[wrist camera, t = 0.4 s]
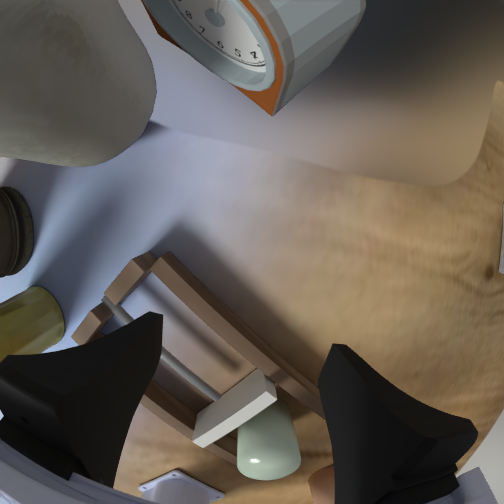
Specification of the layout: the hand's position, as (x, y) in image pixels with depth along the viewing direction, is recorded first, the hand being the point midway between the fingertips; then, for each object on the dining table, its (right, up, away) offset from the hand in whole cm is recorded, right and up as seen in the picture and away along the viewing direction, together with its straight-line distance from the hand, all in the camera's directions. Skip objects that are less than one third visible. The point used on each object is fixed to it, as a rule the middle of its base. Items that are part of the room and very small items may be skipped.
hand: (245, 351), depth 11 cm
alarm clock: (-1, +22, +8) cm, 23 cm away
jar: (+10, -24, +15) cm, 30 cm away
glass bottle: (-11, +15, +8) cm, 21 cm away
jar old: (+1, -11, +12) cm, 17 cm away
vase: (-20, -2, +11) cm, 23 cm away
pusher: (-6, -4, +11) cm, 13 cm away
